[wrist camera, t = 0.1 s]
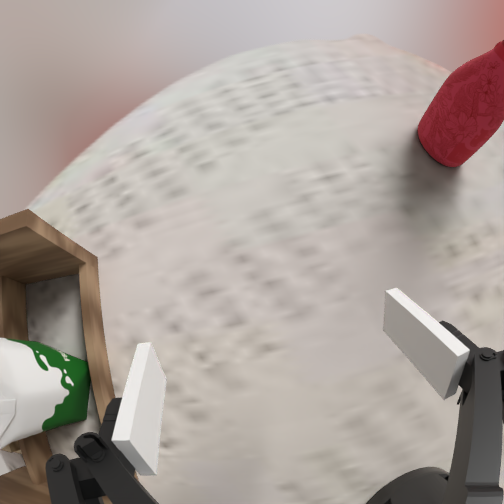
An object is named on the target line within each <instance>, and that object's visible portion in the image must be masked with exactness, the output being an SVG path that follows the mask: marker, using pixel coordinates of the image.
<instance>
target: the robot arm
mask: <svg viewBox="0 0 504 504" xmlns="http://www.w3.org/2000/svg"><path fill="white" fill-rule="evenodd" d="M383 331H384V332H385V333H386V334H387V335H388V336H389V337H390V338H391V340H392V341H393V342H394V343H395V344H396V345H397V346H398V347H399V349H400V350H401V351H402V352H403V353H404V354H405V355H406V357H407V358H408V359H409V360H410V361H411V362H412V363H413V365H414V366H415V367H416V368H417V369H418V370H419V371H420V373H421V374H422V375H423V376H424V377H425V378H426V380H427V381H428V382H429V383H430V384H431V386H432V387H433V388H434V389H435V390H436V391H437V393H438V394H439V395H440V396H441V397H442V399H443V400H445V399H447V398H448V397H450V396H452V395H454V394H455V393H456V391H457V388H458V385H459V386H460V387H461V388H462V392H461V395H460V397H459V400H458V402H457V404H458V405H459V403H460V410H459V420H458V428H457V435H456V442H455V448H454V454H453V459H452V464H451V469H450V473H448V472H446V471H444V470H443V469H440V468H436V467H425V468H420V469H416V470H413V471H411V472H408V473H406V474H404V475H402V476H400V477H398V478H397V479H395V480H393V481H392V482H390V483H389V484H388V485H386V486H385V487H384V488H382V489H381V490H380V491H379V492H378V493H377V494H376V495H374V496H373V497H372V499H371V500H370V501H369V502H368V503H367V504H502V500H503V489H502V488H501V487H499V475H500V466H501V453H502V420H503V423H504V350H503V351H499V352H495V350H493V349H491V348H487V347H484V348H479V347H477V346H476V345H475V344H474V343H473V342H472V341H470V340H469V339H468V338H467V337H466V336H465V335H462V333H461V332H460V331H459V330H457V329H456V328H455V327H454V326H453V325H452V324H449V323H447V322H445V321H441V322H437V321H436V320H435V319H434V318H433V317H431V316H430V315H429V314H428V313H427V312H426V311H424V310H423V309H422V308H421V307H420V306H418V305H417V304H416V303H415V302H413V301H412V300H411V299H410V298H409V297H407V296H406V295H405V294H404V293H402V292H401V291H400V290H399V289H397V288H393V289H390V290H387V291H385V311H384V326H383ZM166 382H167V379H166V377H165V374H164V372H163V370H162V367H161V365H160V363H159V360H158V358H157V355H156V353H155V351H154V348H153V346H152V343H151V342H147V343H140V344H138V345H137V349H136V352H135V355H134V358H133V362H132V365H131V369H130V372H129V375H128V379H127V382H126V386H125V390H124V393H123V397H122V398H113V399H112V400H111V401H110V403H109V404H108V405H107V407H106V411H105V416H104V417H103V422H102V424H101V428H100V431H99V435H98V434H97V433H93V432H87V433H85V434H82V435H81V436H79V437H78V438H77V440H76V441H75V443H74V450H75V452H76V453H77V454H78V455H79V457H80V458H76V459H71V460H69V459H68V458H67V457H66V456H65V455H62V454H55V455H53V456H51V457H50V458H49V459H48V460H47V462H46V466H45V470H46V477H47V483H48V489H49V494H50V499H51V504H104V502H103V499H102V496H107V497H108V498H109V499H110V501H111V502H112V504H159V503H158V502H157V501H156V500H155V499H154V498H153V497H152V496H151V495H150V494H149V493H148V492H147V490H146V489H145V488H144V487H143V486H142V485H141V484H140V482H139V481H138V480H137V479H136V478H135V477H134V475H135V470H136V471H137V472H138V473H139V474H140V475H157V466H158V454H159V443H160V433H161V423H162V414H163V405H164V397H165V389H166Z"/></svg>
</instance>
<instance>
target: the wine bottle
mask: <svg viewBox="0 0 504 504" xmlns="http://www.w3.org/2000/svg"><path fill="white" fill-rule="evenodd" d="M503 120H504V40H503V41H502V42H499V43H498V44H497V45H496V46H495V47H494V49H492V50H491V51H489V52H487V53H485V54H483V55H481V56H479V57H476V58H474V59H472V60H470V61H469V62H466V63H465V64H463V65H462V66H460V67H459V68H457V69H456V70H455V71H454V72H453V73H452V74H451V75H450V76H449V77H448V78H447V79H446V81H445V82H444V83H443V85H442V86H441V88H440V89H439V91H438V93H437V94H436V96H435V97H434V99H433V101H432V102H431V104H430V105H429V107H428V109H427V110H426V112H425V114H424V115H423V117H422V119H421V121H420V123H419V125H418V136H419V139H420V142H421V144H422V145H423V147H424V149H425V150H426V151H427V152H428V154H429V155H430V156H431V157H433V158H434V159H435V160H436V161H438V162H439V163H441V164H443V165H445V166H449V167H457V166H460V165H461V164H463V163H464V162H465V161H466V160H468V159H469V158H470V157H471V156H472V155H473V154H474V153H475V152H476V151H477V150H478V149H479V148H480V147H482V146H483V145H484V144H485V143H486V142H487V141H488V140H489V138H490V137H491V136H492V135H493V134H494V133H495V132H496V131H497V130H498V128H499V127H500V126H501V124H502V122H503Z"/></svg>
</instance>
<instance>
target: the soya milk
mask: <svg viewBox="0 0 504 504" xmlns="http://www.w3.org/2000/svg"><path fill="white" fill-rule="evenodd" d="M90 382H91V376H90V370H89V364H88V362H86V361H84V360H81V359H79V358H76V357H73V356H71V355H68V354H66V353H64V352H61V351H59V350H56V349H54V348H52V347H49V346H47V345H45V344H42V343H40V342H35V341H25V340H16V339H7V338H0V450H1V449H2V448H4V447H5V446H7V445H8V444H10V443H11V442H14V441H17V440H20V439H23V438H26V437H29V436H32V435H36V434H39V433H42V432H44V431H47V430H50V429H53V428H56V427H59V426H63V425H67V424H71V423H75V422H79V421H82V420H86V418H87V408H88V399H89V390H90Z"/></svg>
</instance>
